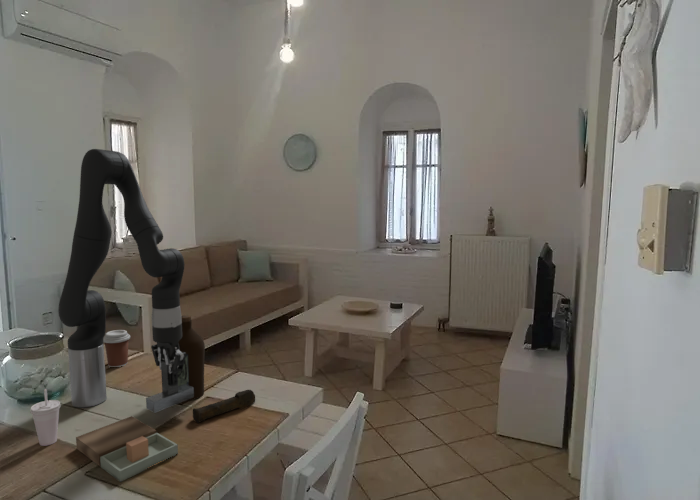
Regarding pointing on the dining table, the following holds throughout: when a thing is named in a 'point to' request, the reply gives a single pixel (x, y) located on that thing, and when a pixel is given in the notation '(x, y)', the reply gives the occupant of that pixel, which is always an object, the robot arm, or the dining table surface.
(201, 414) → the hand tool
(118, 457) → the box
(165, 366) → the scraper
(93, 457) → the brown slab
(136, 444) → the tile
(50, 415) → the smoothie
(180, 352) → the robot arm
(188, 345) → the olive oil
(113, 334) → the coffee cup
